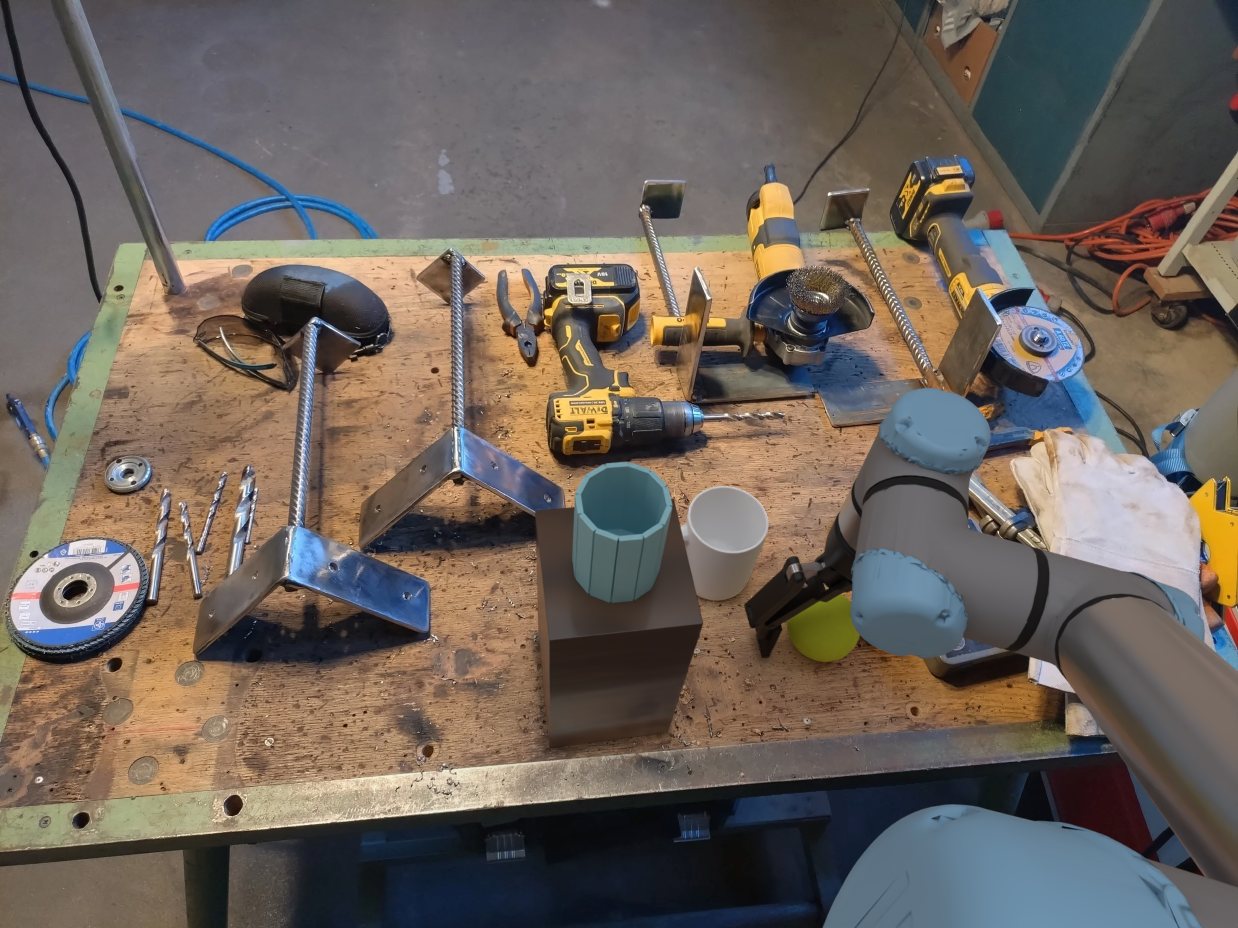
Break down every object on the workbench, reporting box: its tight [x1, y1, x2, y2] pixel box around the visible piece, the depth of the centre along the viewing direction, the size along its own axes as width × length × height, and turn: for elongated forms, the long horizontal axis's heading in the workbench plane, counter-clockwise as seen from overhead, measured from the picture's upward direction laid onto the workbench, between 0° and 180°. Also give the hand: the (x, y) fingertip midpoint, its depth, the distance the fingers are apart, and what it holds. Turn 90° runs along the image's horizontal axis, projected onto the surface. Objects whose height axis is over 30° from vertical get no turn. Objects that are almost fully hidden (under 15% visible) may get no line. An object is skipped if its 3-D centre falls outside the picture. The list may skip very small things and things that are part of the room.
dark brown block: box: [534, 498, 704, 749], centre depth 74 cm, size 12×12×24 cm
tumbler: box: [572, 461, 672, 603], centre depth 61 cm, size 7×7×9 cm
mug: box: [680, 485, 770, 601], centre depth 89 cm, size 9×12×11 cm
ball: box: [786, 588, 861, 663], centre depth 86 cm, size 8×8×8 cm
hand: (814, 639), depth 88 cm, fingers open, 11 cm apart
